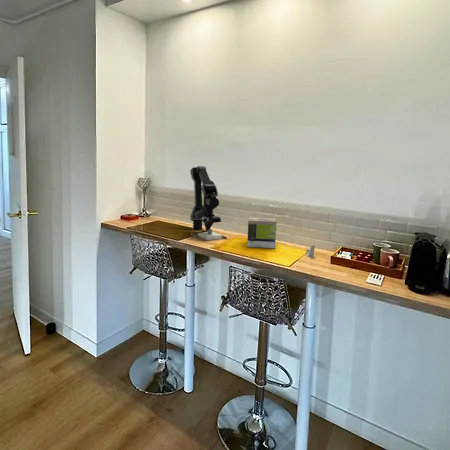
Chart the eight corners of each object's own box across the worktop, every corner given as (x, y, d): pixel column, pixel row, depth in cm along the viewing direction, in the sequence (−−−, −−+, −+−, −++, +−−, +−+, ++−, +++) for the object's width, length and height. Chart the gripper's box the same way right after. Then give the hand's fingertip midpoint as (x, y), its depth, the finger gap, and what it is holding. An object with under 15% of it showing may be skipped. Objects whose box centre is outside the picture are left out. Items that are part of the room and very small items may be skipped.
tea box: (274, 244, 195) (276, 218, 192) (274, 249, 185) (277, 221, 182) (247, 242, 196) (248, 216, 193) (246, 247, 186) (248, 220, 183)
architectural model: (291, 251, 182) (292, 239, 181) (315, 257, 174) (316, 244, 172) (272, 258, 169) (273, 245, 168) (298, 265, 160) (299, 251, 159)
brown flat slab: (190, 236, 204) (190, 233, 204) (211, 233, 213) (211, 231, 213) (204, 242, 192) (204, 239, 191) (226, 239, 200) (226, 236, 200)
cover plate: (197, 236, 202) (198, 228, 201) (212, 234, 208) (212, 227, 207) (206, 240, 194) (207, 232, 193) (221, 238, 200) (222, 230, 199)
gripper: (188, 203, 202) (187, 229, 205) (204, 208, 187) (203, 236, 190) (204, 202, 208) (203, 228, 212) (221, 207, 194) (220, 234, 197)
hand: (207, 231), depth 202 cm, fingers closed
